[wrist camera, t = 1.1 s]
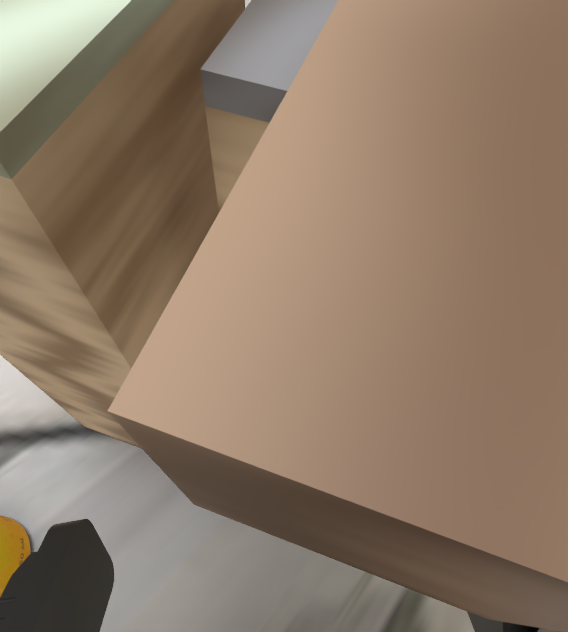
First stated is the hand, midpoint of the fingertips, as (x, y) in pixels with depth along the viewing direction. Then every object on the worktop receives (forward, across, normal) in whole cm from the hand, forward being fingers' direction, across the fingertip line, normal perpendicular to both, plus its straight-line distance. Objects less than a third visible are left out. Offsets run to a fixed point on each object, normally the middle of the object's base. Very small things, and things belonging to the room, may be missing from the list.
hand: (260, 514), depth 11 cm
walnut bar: (+6, -7, -8) cm, 12 cm away
